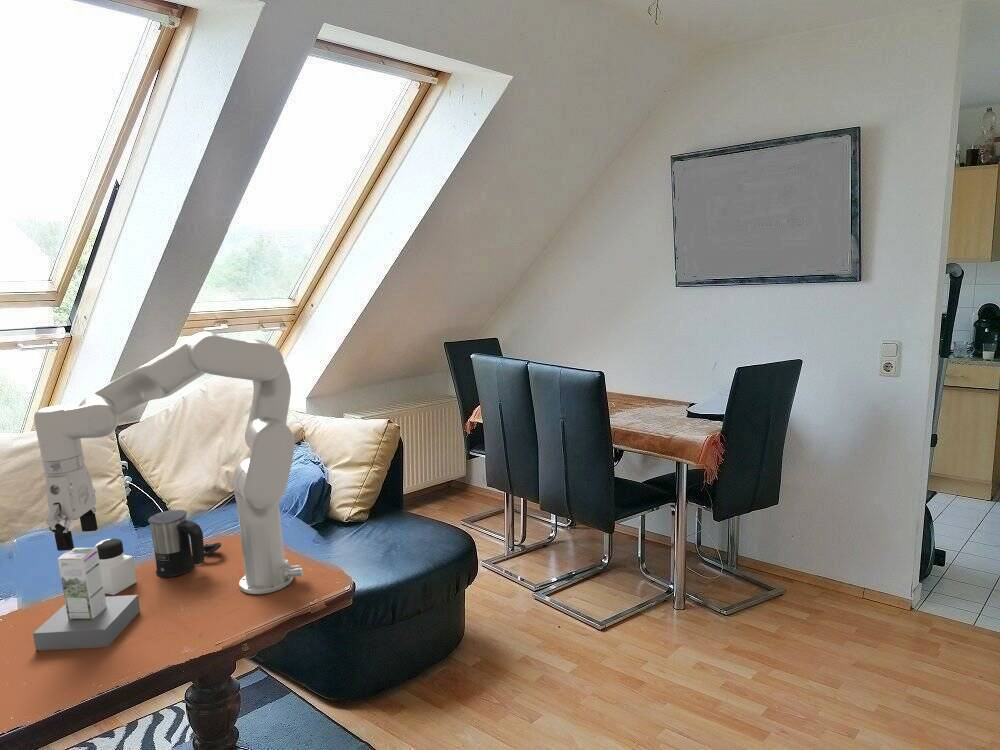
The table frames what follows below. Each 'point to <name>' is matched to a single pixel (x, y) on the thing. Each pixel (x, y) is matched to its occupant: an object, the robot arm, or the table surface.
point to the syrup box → (82, 583)
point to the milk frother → (177, 543)
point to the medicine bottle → (115, 566)
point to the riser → (87, 626)
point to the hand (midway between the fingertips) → (78, 540)
